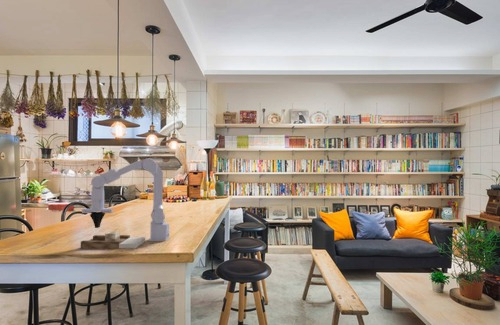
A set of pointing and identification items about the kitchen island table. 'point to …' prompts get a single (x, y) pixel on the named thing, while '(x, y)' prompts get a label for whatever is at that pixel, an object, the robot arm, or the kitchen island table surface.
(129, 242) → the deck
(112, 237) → the cube
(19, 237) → the kitchen island table surface
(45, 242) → the kitchen island table surface
